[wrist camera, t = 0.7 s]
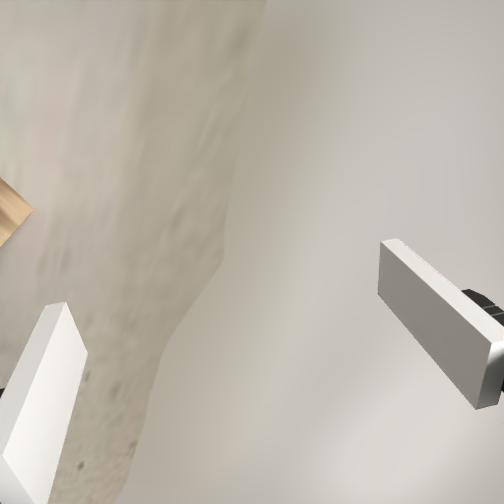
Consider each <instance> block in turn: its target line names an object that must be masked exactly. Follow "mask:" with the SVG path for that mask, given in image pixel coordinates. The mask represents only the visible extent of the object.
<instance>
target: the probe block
mask: <svg viewBox="0 0 504 504" xmlns="http://www.w3.org/2000/svg"><path fill="white" fill-rule="evenodd" d="M34 209H35V208H34V207H33V206H31V205H30V204H29V203H28V202H27V201H26V200H25V199H24V198H23V197H21V196H20V195H19V194H18V193H17V192H16V191H15V190H14V189H12V188H11V187H10V186H9V185H8V184H7V183H6V182H5V181H3V180H2V179H1V178H0V247H1V246H2V244H3V243H4V242H5V241H6V240H7V239H8V238H9V237H10V236H11V234H12V233H13V232H14V231H15V230H16V229H17V228H18V227H19V226H20V224H21V223H22V222H23V221H24V220H25V219H26V218H27V217H28V215H29V214H30V213H31V212H32V211H33V210H34Z"/></svg>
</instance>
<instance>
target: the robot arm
mask: <svg viewBox="0 0 504 504" xmlns="http://www.w3.org/2000/svg"><path fill="white" fill-rule="evenodd" d="M378 295H379V296H380V297H381V298H382V300H383V301H384V302H385V303H386V304H387V306H388V307H389V308H390V309H391V310H392V311H393V313H394V314H395V315H396V316H397V317H398V318H399V320H400V321H401V322H402V323H403V324H404V326H405V327H406V328H407V329H408V330H409V331H410V333H411V334H412V335H413V336H414V337H415V339H416V340H417V341H418V342H419V343H420V345H421V346H422V347H423V348H424V349H425V350H426V352H427V353H428V354H429V355H430V356H431V357H432V359H433V360H434V361H435V362H436V363H437V365H438V366H439V367H440V368H441V369H442V371H443V372H444V373H445V374H446V375H447V376H448V377H449V379H450V380H451V381H452V382H453V383H454V385H455V386H456V387H457V388H458V389H459V390H460V392H461V393H462V394H463V395H464V397H465V398H466V399H467V400H468V401H469V402H470V404H472V406H473V407H474V408H475V409H476V410H477V409H481V408H485V407H488V406H493V405H497V404H498V402H499V398H500V395H501V391H503V392H504V311H503V310H502V309H500V308H499V307H498V306H495V304H494V303H493V302H492V301H490V300H489V299H488V298H486V297H485V296H484V295H481V294H479V293H477V292H475V291H472V290H470V289H467V290H462V291H460V290H459V289H458V288H456V287H455V286H454V285H453V284H452V283H451V282H449V281H448V280H447V279H446V278H445V277H443V276H442V275H441V274H440V273H439V272H437V271H436V270H435V269H434V268H432V267H431V266H430V265H429V264H428V263H427V262H425V261H424V260H423V259H422V258H420V257H419V256H418V255H417V254H416V253H414V252H413V251H412V250H411V249H410V248H408V247H407V246H406V245H405V244H404V243H403V242H401V241H400V240H399V239H398V238H395V239H390V240H385V241H381V244H380V262H379V281H378ZM87 355H88V354H87V351H86V349H85V346H84V344H83V342H82V339H81V337H80V334H79V332H78V330H77V327H76V325H75V322H74V320H73V318H72V315H71V313H70V310H69V308H68V306H67V303H66V302H61V303H55V304H50V305H46V306H45V308H44V310H43V312H42V314H41V316H40V318H39V320H38V322H37V324H36V326H35V328H34V330H33V332H32V334H31V336H30V339H29V341H28V343H27V345H26V347H25V349H24V351H23V353H22V355H21V357H20V359H19V361H18V363H17V365H16V367H15V370H14V372H13V374H12V376H11V378H10V380H9V382H8V384H7V386H6V388H3V389H0V504H47V503H48V499H49V495H50V492H51V488H52V484H53V481H54V477H55V473H56V469H57V466H58V462H59V458H60V455H61V451H62V447H63V443H64V440H65V436H66V432H67V429H68V425H69V421H70V418H71V414H72V410H73V406H74V403H75V399H76V395H77V392H78V388H79V384H80V380H81V377H82V373H83V369H84V366H85V362H86V358H87Z"/></svg>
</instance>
